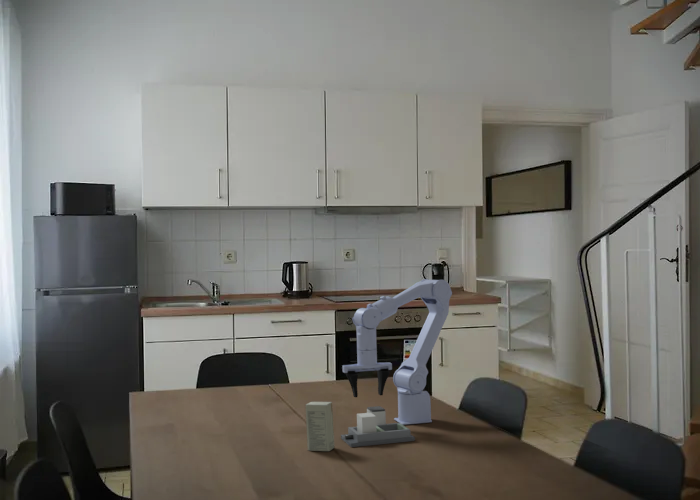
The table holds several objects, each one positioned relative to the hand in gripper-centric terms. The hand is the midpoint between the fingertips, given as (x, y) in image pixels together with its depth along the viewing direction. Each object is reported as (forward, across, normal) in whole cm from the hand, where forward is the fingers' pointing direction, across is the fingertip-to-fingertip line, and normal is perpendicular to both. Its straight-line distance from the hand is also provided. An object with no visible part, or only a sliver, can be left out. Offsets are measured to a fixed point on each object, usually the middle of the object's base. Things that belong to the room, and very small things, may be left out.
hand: (368, 395), depth 221 cm
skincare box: (+10, +18, +18) cm, 28 cm away
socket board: (+9, +2, +14) cm, 17 cm away
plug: (+10, -1, +4) cm, 10 cm away
